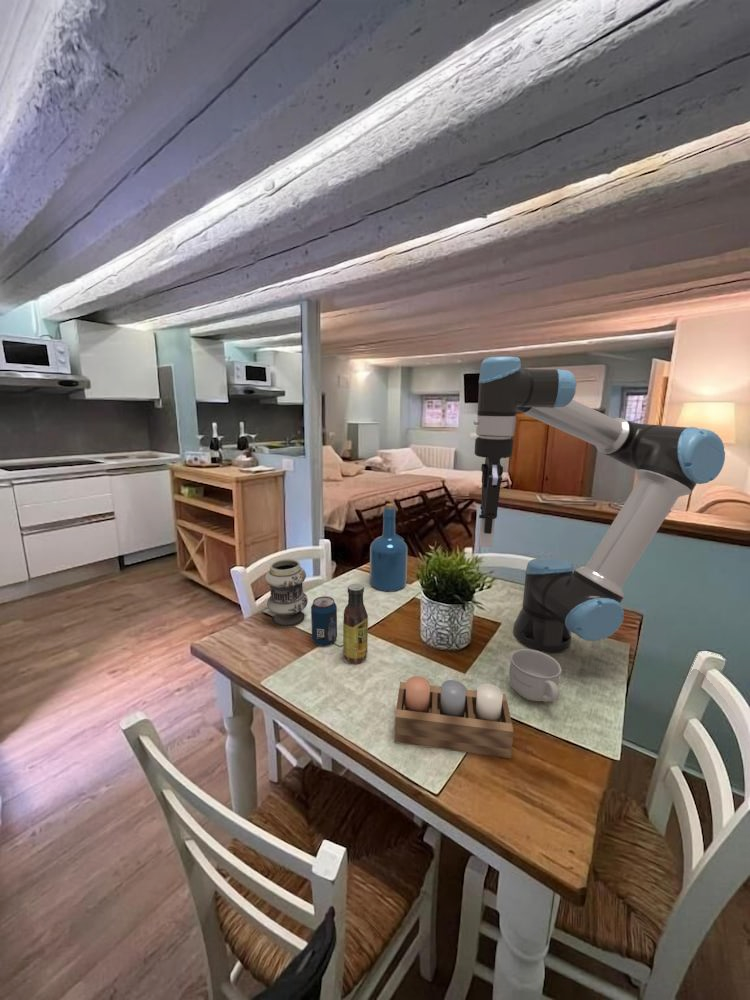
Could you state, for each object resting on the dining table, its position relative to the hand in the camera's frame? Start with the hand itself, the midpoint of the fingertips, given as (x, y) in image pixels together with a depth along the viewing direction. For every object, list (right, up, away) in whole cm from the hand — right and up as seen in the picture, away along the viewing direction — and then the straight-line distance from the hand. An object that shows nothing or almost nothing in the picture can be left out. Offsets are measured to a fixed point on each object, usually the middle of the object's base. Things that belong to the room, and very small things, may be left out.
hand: (485, 545), depth 89 cm
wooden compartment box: (-9, -37, -6) cm, 38 cm away
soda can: (-38, -29, +24) cm, 54 cm away
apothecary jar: (-51, -26, +35) cm, 67 cm away
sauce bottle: (-29, -31, +17) cm, 46 cm away
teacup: (+12, -35, +4) cm, 37 cm away
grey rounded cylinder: (-9, -33, -7) cm, 35 cm away
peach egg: (-16, -33, -6) cm, 37 cm away
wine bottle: (-19, -21, +59) cm, 65 cm away
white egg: (-2, -33, -8) cm, 34 cm away
